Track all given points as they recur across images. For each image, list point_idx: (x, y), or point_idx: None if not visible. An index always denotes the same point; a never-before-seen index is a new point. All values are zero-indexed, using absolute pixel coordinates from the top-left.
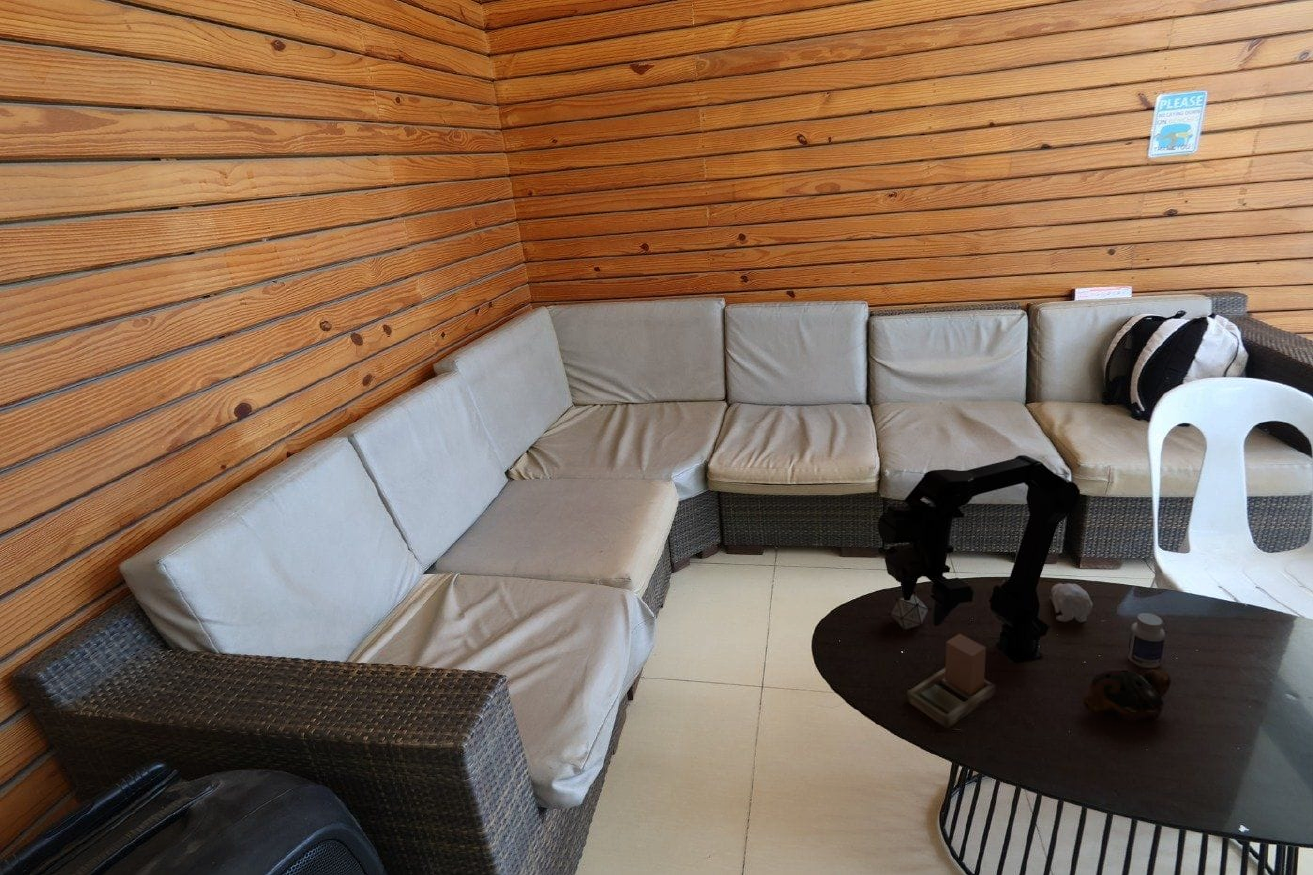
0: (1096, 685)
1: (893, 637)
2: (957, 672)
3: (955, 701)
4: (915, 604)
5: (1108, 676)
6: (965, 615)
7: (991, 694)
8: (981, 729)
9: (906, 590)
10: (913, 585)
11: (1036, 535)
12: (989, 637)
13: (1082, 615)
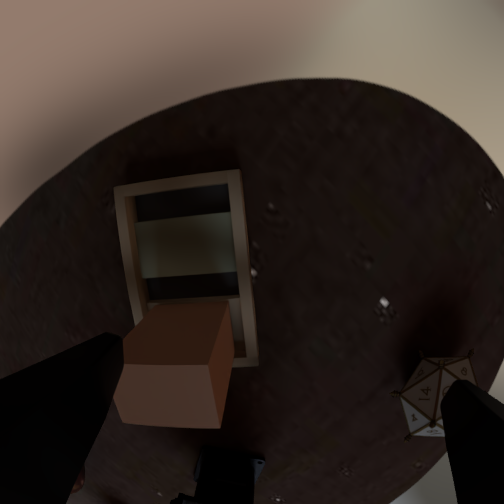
0: None
1: (427, 321)
2: (181, 321)
3: (163, 263)
4: (437, 420)
5: (84, 479)
6: (360, 470)
7: None
8: (93, 249)
9: (490, 434)
10: (468, 493)
11: None
12: (288, 464)
13: None
